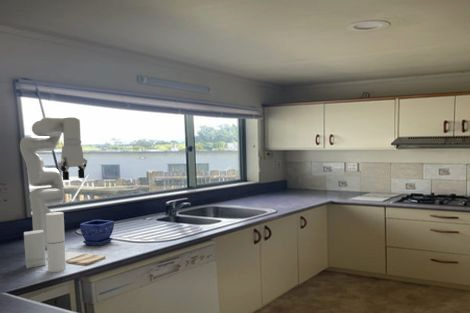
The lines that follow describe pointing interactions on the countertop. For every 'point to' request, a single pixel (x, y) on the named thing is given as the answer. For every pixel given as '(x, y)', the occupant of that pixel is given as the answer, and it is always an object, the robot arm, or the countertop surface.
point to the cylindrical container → (55, 241)
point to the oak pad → (86, 259)
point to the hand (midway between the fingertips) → (73, 178)
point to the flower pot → (97, 232)
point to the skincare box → (34, 248)
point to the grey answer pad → (71, 255)
